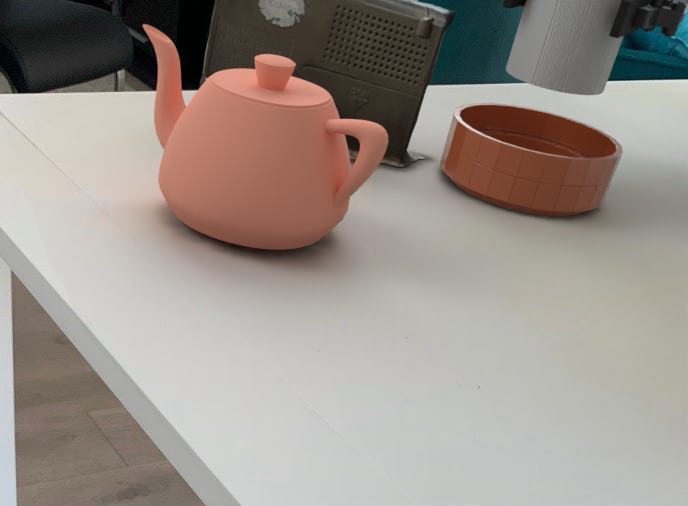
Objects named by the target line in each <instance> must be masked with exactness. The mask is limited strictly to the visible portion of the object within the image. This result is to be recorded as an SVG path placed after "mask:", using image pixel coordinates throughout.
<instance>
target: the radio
mask: <svg viewBox="0 0 688 506" xmlns="http://www.w3.org/2000/svg"><path fill="white" fill-rule="evenodd" d="M455 17H456V11H454V10H453V9H447V8H445V7H443V6H439V5H435V4H433V3H427V2H422V1H418V0H215V1H214V7H213V11H212V17H211V22H210V27H209V35H208V39H207V43H206V48H205V53H204V60H203V66H202V67H203V69H202V75H201V77H200V81H199V88H200V87H201V86H202V85H203V84H204V82H205V81H206V80H207V79H208V78H209V77H210V76H211V75H213V74H214V73H216V72H219V71H222V70H227V69H240V68H244V69H256V68H255V56H258V55H261V54H272V55H278V56H282V57H286V58H288V59H290V60H292V61H293V62H294V63H295V64H296V66H295V68H294V71H293V73H292V75H291V76H293V77H296V78H300V79H303V80H306V81H308V82H311V83H313V84H315V85H318V86H320V87H322V88H323V89H325V90H326V91H327V92H329V94H330V95H331V96H332V98H333V101H334V103H335V106H336V108H337V111H338V114H339V117H340V119H357V120H366V121H371V122H374V123H377V124H379V125H381V126H382V127H383V128H384V129H385V130H386V132H387V134H388V145H387V149H386V151H385V154H384V156H383V158H382V160H381V162H380V163H381V164H386V165H390V166H393V167H400V168H401V167H407V166H409V165H410V164H411V163H413V162H416V161H417V160H424V159H426V157H425V156H422V155H419V154H416V153H414V152H411V151H409V150H408V148H409V147H410V142H411V138H412V136H413V133H414V130H415V127H416V125H417V122H418V118H419V115H420V111H421V108H422V106H423V102H424V98H425V95H426V93H427V88H428V87H429V84H430V83H431V81H432V78H433V74H434V71H435V67H436V64H437V60H438V56H439V53H440V50H441V47H442V44H443V40H444V37H445V34H446V33H447V30H448V29H449V28H450V27H451V25H452V24H453V22H454V20H455ZM345 138H346V142H347V146H348V151H349V156H350V160H356V159H357V156H358V154H359V150H360V142H359V140H358V139H357V138H356V137H354V136H351V135H345Z"/></svg>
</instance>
